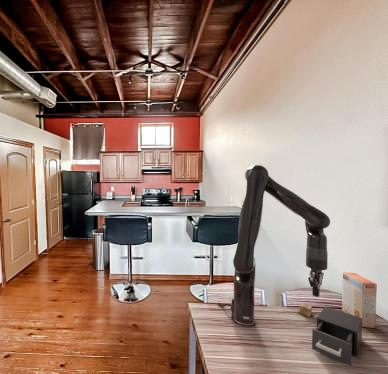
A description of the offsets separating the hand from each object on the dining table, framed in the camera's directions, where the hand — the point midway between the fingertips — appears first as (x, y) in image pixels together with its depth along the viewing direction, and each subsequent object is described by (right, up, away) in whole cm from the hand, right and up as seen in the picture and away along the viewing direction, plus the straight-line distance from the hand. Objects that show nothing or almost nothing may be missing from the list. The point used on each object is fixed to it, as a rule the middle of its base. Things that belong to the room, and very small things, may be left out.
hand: (315, 295), depth 102 cm
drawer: (-3, -16, -12) cm, 20 cm away
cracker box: (+29, -17, +11) cm, 36 cm away
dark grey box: (+7, -17, -4) cm, 19 cm away
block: (+7, -17, +16) cm, 24 cm away
